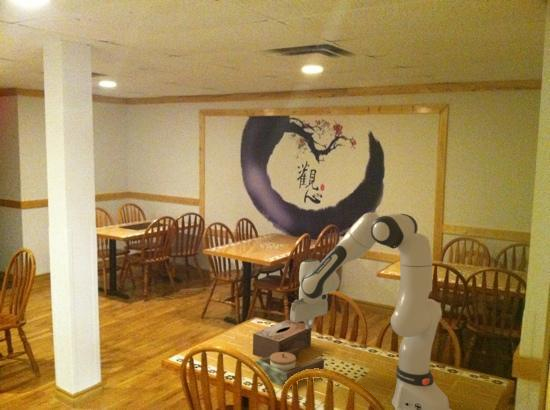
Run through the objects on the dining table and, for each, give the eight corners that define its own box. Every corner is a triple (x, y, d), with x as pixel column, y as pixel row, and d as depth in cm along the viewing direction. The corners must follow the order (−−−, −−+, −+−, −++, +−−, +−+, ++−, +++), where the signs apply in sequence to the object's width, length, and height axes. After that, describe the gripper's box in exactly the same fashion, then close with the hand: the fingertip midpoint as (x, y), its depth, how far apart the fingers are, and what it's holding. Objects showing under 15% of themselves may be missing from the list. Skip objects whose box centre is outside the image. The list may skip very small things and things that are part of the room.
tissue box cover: (286, 339, 245) (286, 319, 244) (310, 346, 236) (311, 326, 235) (252, 354, 225) (253, 333, 224) (277, 363, 216) (278, 341, 215)
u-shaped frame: (323, 370, 210) (324, 359, 209) (282, 387, 194) (283, 374, 193) (295, 357, 222) (295, 346, 222) (254, 372, 206) (255, 360, 205)
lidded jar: (264, 372, 207) (265, 350, 206) (287, 367, 211) (288, 346, 211) (276, 382, 197) (277, 360, 196) (300, 378, 202) (300, 355, 201)
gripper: (297, 302, 202) (297, 335, 204) (330, 294, 216) (329, 324, 217) (286, 299, 207) (286, 331, 208) (319, 291, 221) (319, 321, 222)
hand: (308, 328), depth 213 cm, fingers closed
